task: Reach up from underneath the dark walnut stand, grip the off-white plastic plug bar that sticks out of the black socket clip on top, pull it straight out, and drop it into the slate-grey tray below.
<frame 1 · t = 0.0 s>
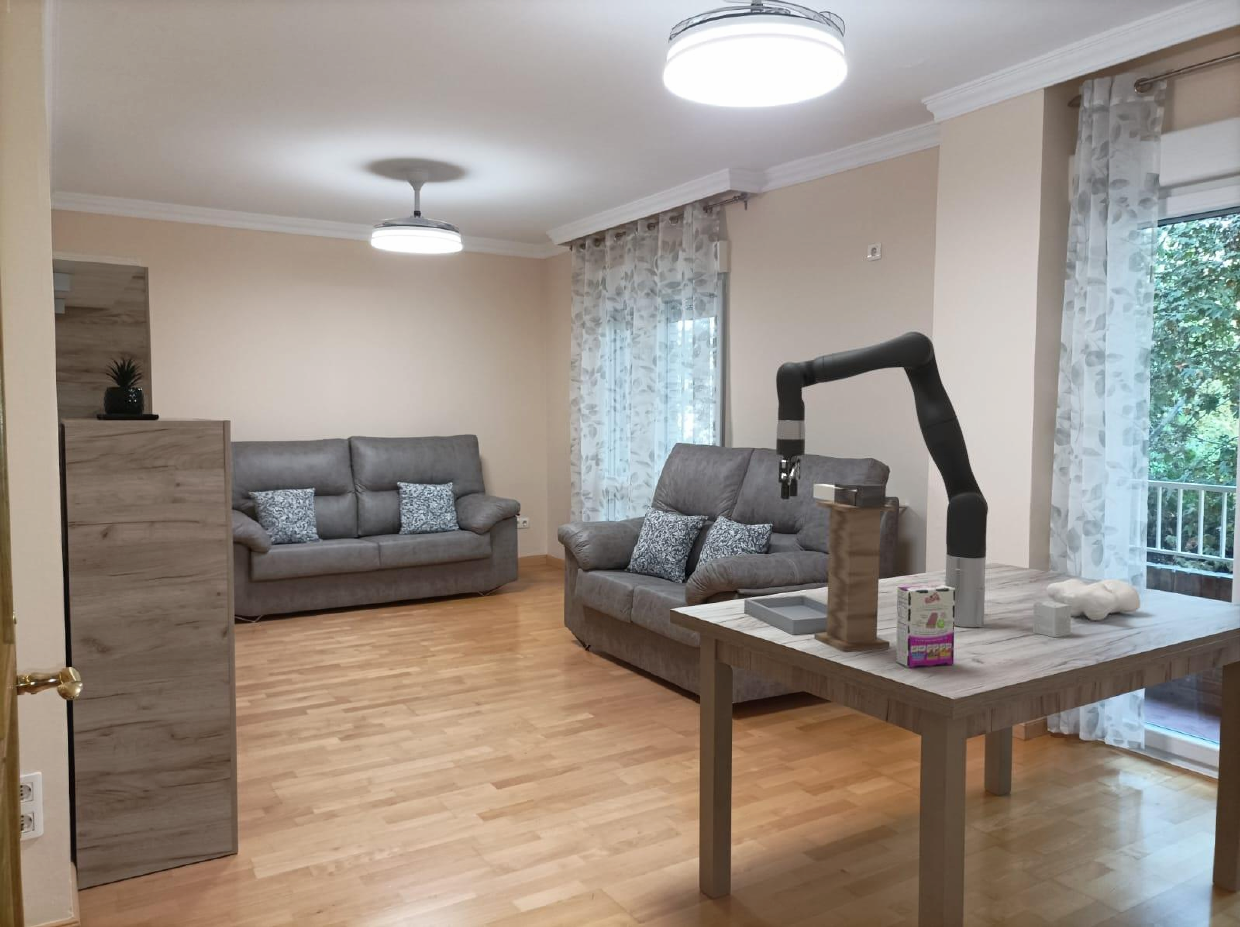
hand: (789, 497, 247), 29 cm above the table, tool pointing down, fingers open, 8 cm apart
socket stand: (851, 642, 210), on the table
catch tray: (798, 620, 231), on the table
candy bar box: (923, 664, 194), on the table
skincare box: (1051, 634, 221), on the table
torso sculpture: (1092, 617, 240), on the table
plug: (841, 501, 213), point 32 cm above the table, touching socket stand
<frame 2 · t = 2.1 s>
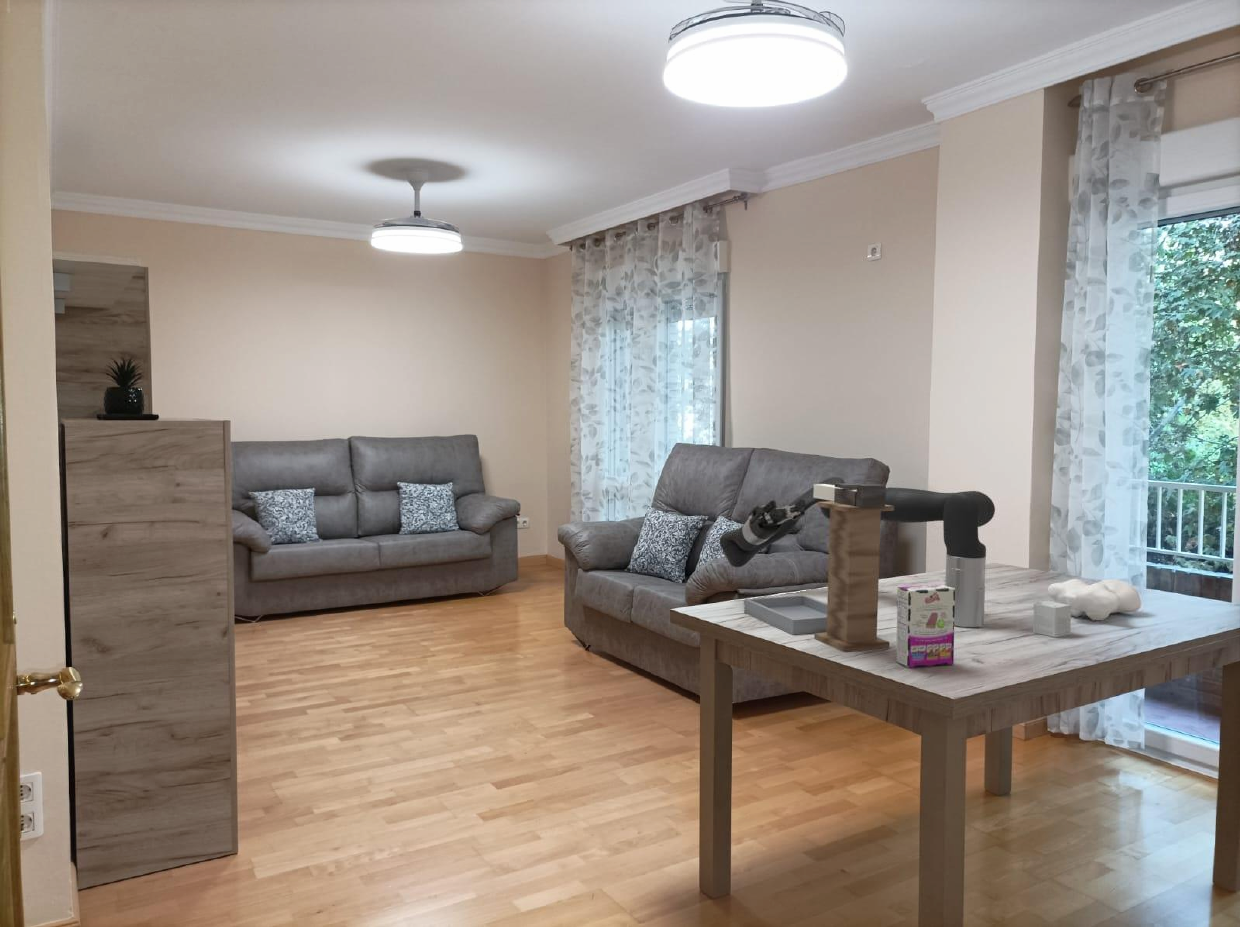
hand: (789, 503, 235), 29 cm above the table, tool pointing upward, fingers open, 8 cm apart
nothing on the table moved.
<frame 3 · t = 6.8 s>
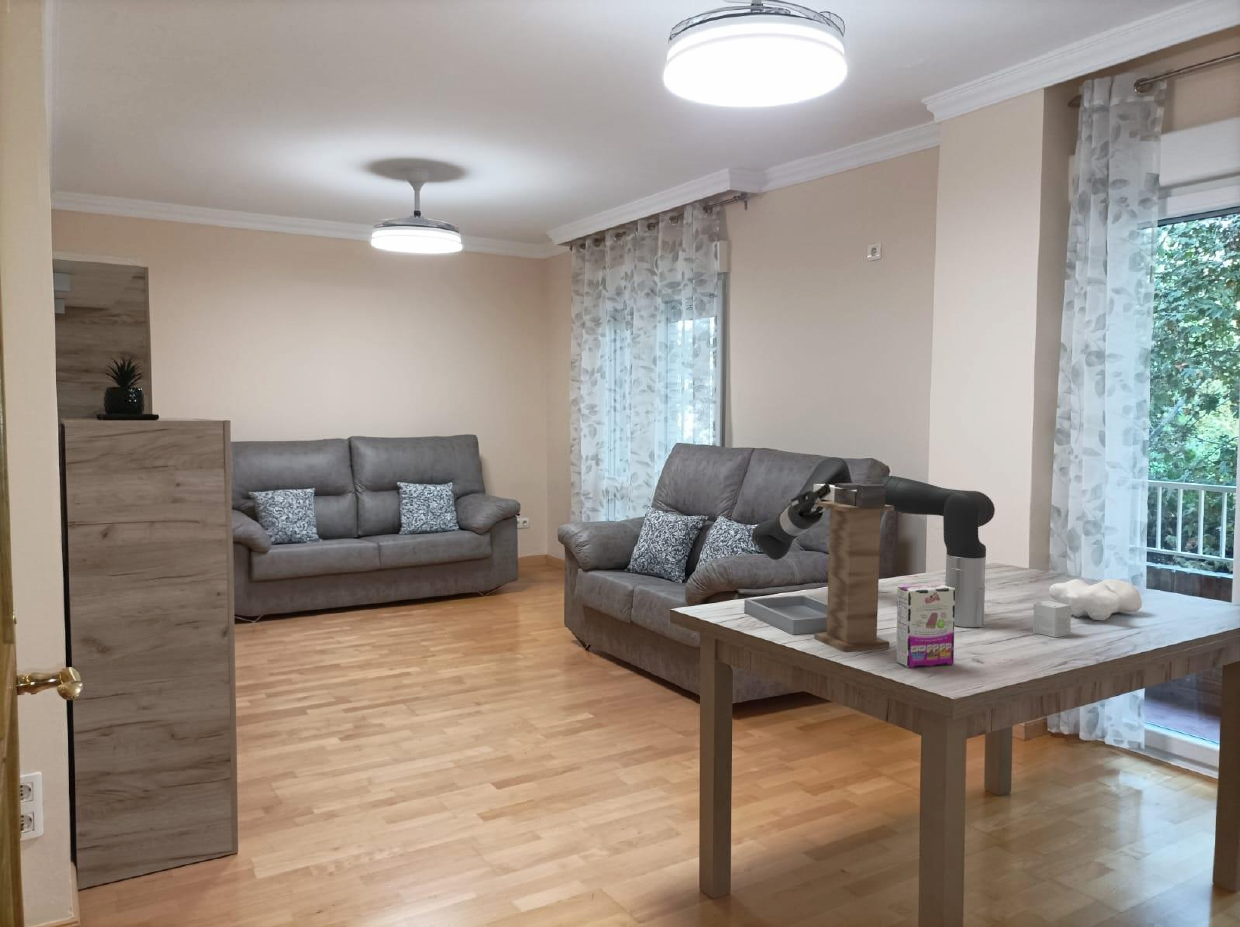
hand: (835, 487, 215), 35 cm above the table, tool pointing upward, fingers closed on plug, 3 cm apart
plug: (841, 501, 213), point 32 cm above the table, touching gripper, socket stand
everything else where it was.
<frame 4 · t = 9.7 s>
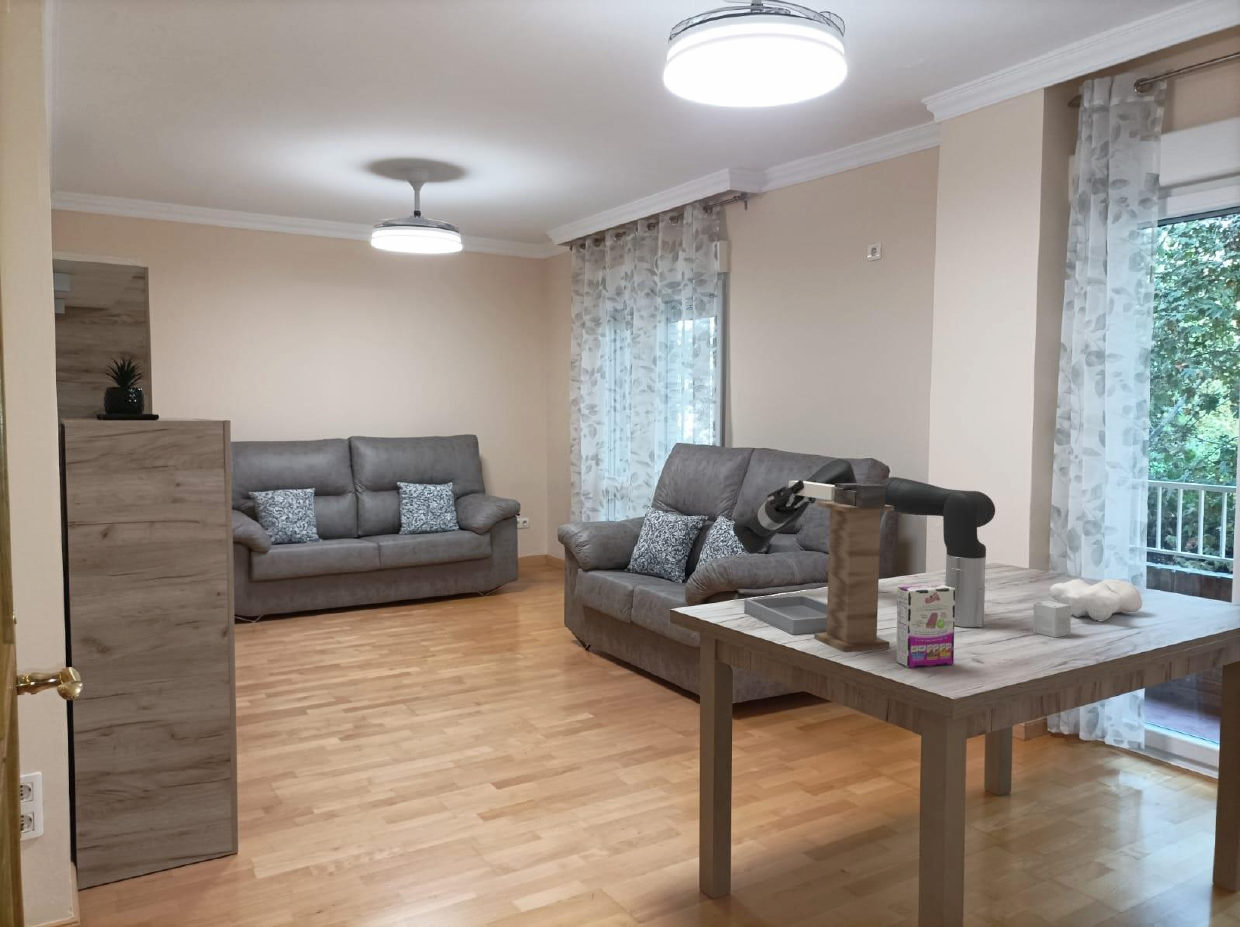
hand: (808, 483, 226), 35 cm above the table, tool pointing upward, fingers closed on plug, 3 cm apart
plug: (814, 496, 224), point 32 cm above the table, touching gripper
everything else where it was.
when the fingers open (26 cm above the table, at t = 12.9 s): plug drops 20 cm, resting on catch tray.
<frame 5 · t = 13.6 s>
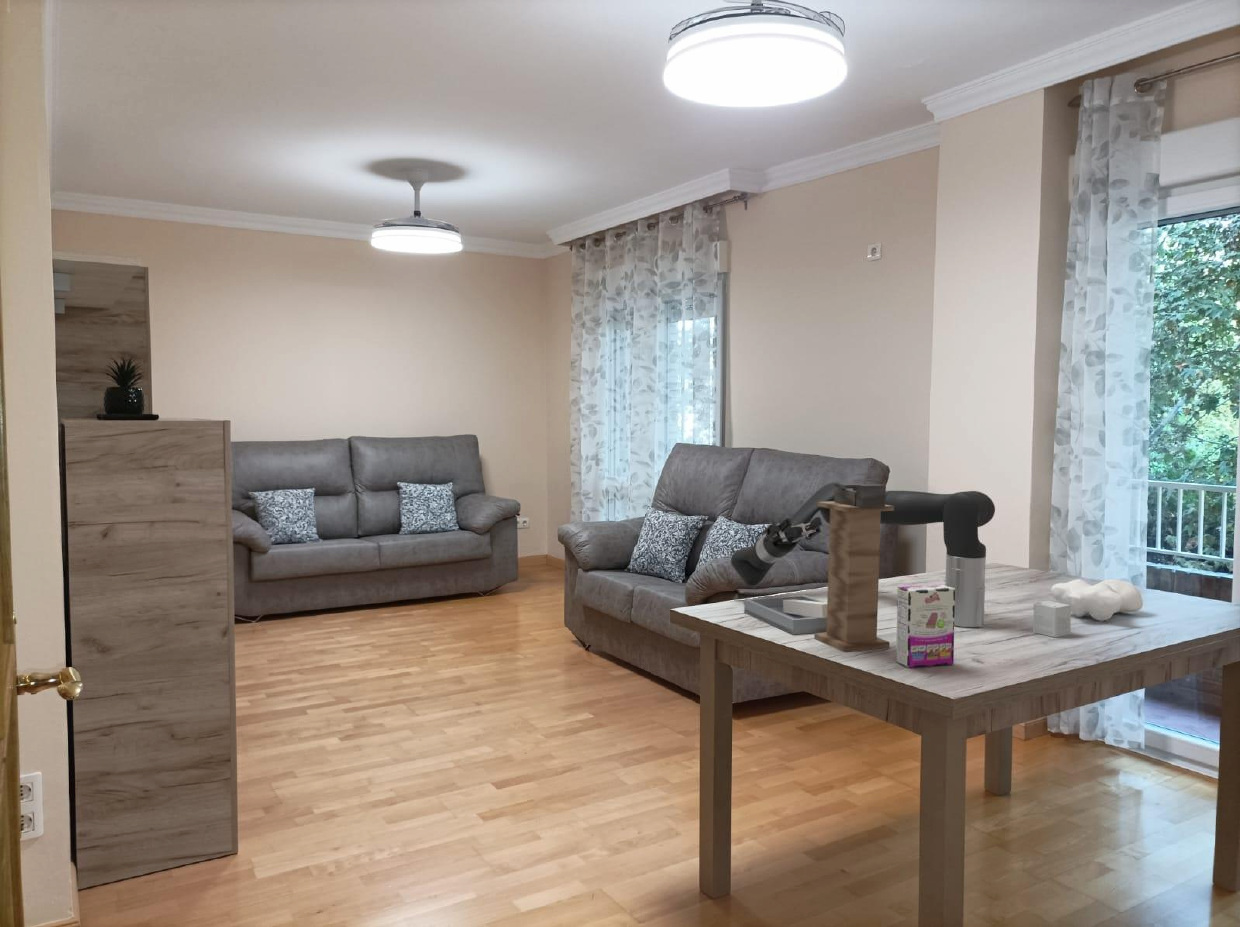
hand: (804, 521, 228), 25 cm above the table, tool pointing upward, fingers open, 8 cm apart
plug: (808, 614, 227), point 2 cm above the table, tilted 9°, touching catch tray
everything else where it was.
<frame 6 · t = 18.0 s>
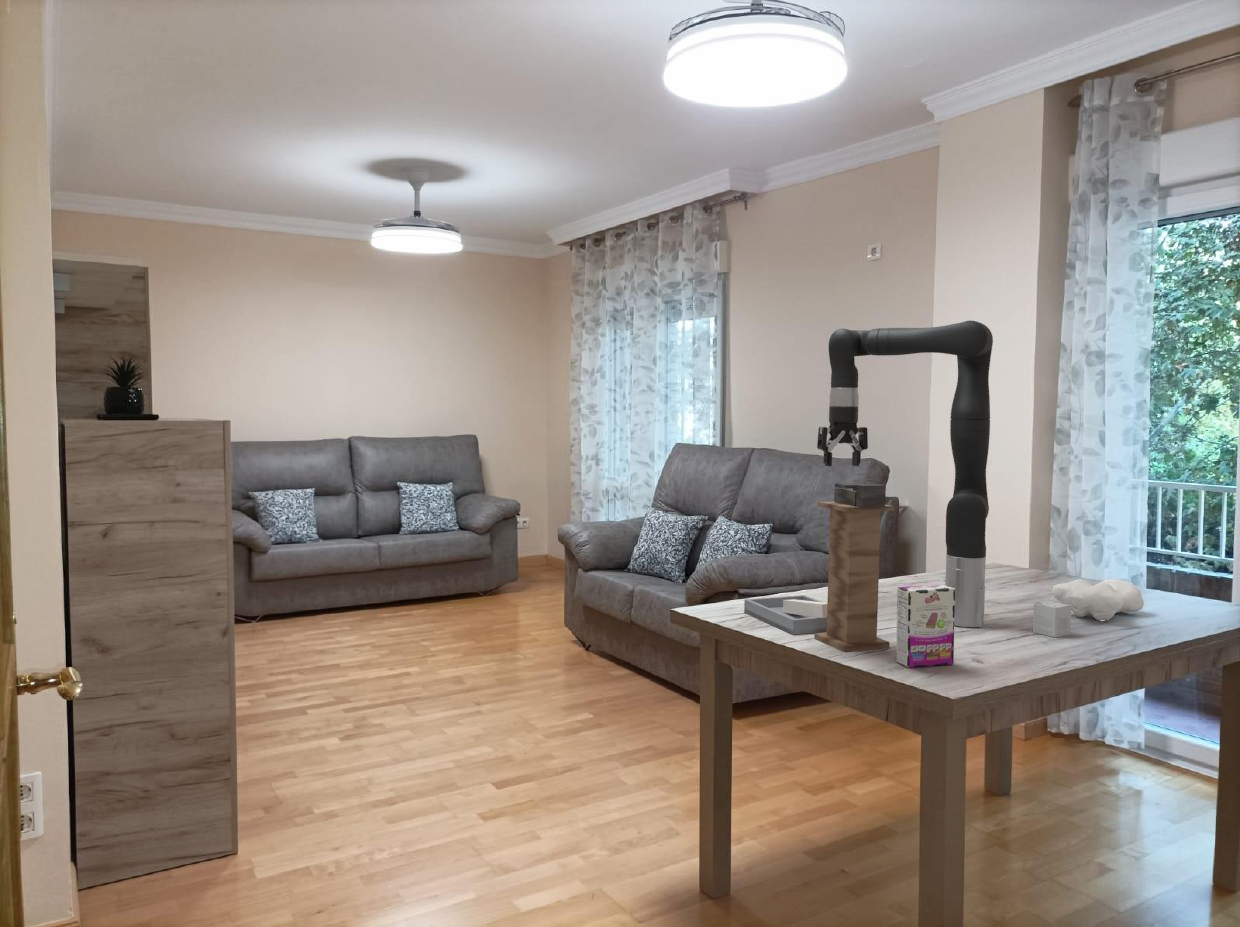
hand: (842, 466, 244), 38 cm above the table, tool pointing down, fingers open, 8 cm apart
at the end: plug inside the target area on the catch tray (4.5 cm from its centre), point 2.5 cm above the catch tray's base; the gripper is holding nothing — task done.
